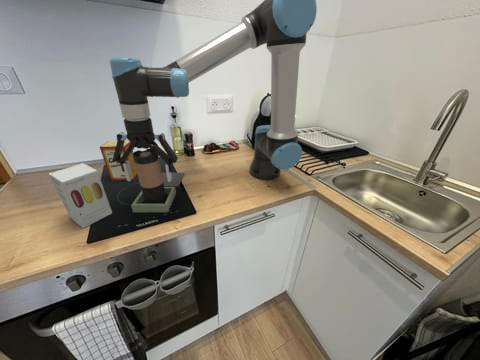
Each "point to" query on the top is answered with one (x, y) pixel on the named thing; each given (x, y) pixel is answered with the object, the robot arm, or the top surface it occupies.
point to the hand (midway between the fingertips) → (150, 179)
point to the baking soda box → (115, 167)
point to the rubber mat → (174, 181)
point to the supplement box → (81, 194)
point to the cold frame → (140, 207)
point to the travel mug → (150, 176)
